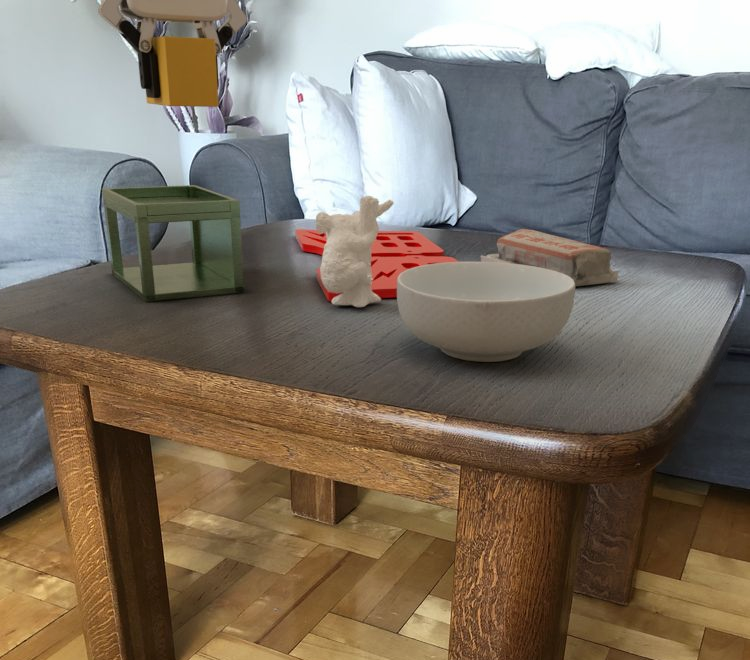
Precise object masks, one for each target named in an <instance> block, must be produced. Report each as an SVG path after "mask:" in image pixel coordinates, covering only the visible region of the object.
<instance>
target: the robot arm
mask: <svg viewBox="0 0 750 660" xmlns="http://www.w3.org/2000/svg"><path fill="white" fill-rule="evenodd" d="M97 13H98V15H99V16H100V17H101V18H102V19H103V20H104V21H105V22H106V23H108V24H109V25H110V26H111V27H112V28H114V29H115V30H116V31H117V32H118V34H119V35H120V36H121V37H122V38H123V39H124V40H125V41H126V43H128V44H129V46H130V47H132V49H133V51H134V52H135V53H137V61H138V71H139V72H138V73H139V83H140V87H141V89H142V90H145V96H146V95H147V97H148V98H159V97H160V96H161V92H160V81H159V69H158V57H157V55H156V53H154V51H153V46H152V42H153V38H154V36H155V30H156V25H157V22H167V23H168V22H169V23H172V22H173V23H188V24H193V27H194V30H195V33H196V36H197V38H210V39H215V52H216V70H217V88H218V89H219V88H220V82H219V65H218V64H219V63H218V56H219V55H220V54H221V53H222V50H223V49H224V48H225V46H226V45H227V44H228V42H229V41H230V40H231V39H232V37H233V36H234V35H236V34H237V32H239V30H240V29H241V28H243V26H245V25H246V23H247V21H248V17H247V15H246V13H245V12H244V10H242V8H241V6H240V4H239V3H238V2H237V1H236V0H102V1H101V3H100V4H99V6H98V8H97ZM121 13H122V14H121ZM123 15H124V16H125V17H127V18H130V19H132V20H136V21H135V26H134V24H133V23H132V22H131V21H129V20H127V18H125V17H124V16H123ZM225 17H226V20H225V21H224V23H222V24H221V25H220V26H218V27H217V28H216V26H215V23H214V22H217V21H219V20H222V19H223V18H225Z"/></svg>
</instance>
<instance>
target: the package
mask: <svg viewBox="0 0 750 660" xmlns="http://www.w3.org/2000/svg"><path fill="white" fill-rule="evenodd" d="M152 46H153V51H154V53H156V55H157V57H158V69H159V81H160V92H161V96H160V97H159V98H148V97H147V95H146V94H145V97H146V98H145V99H146V104H150V105H159V106H167V107H194V108H195V107H201V108H204V107H205V108H206V107H207V108H219V106H220V105H219V88H217V70H216V52H215V39H210V38H198V37H186V36H169V35H167V36H166V35H163V36H155V37H154V36H153V42H152Z"/></svg>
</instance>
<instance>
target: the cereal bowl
mask: <svg viewBox="0 0 750 660" xmlns="http://www.w3.org/2000/svg"><path fill="white" fill-rule="evenodd" d="M575 296H576V286H575V282H574V280H573V279H572V278H571V277H569V276H567V275H565V274H562V273H560V272H557V271H553V270H549V269H544V268H539V267H534V266H527V265H519V264H510V263H498V262H481V261H458V262H446V263H435V264H428V265H423V266H418V267H414V268H411V269H408V270H406V271H404V272H402V273H401V274H400V275H399V276H398V278H397V297H396V300H397V307H398V312H399V316H400V318H401V321H402V323H403V324H404V326H405V327H406V328H407V329H408V331H409V332H410V333H411V334H412V335H413V336H415V337H416V338H417V339H418V340H420V341H421V342H424V343H425V344H427V345H430V346H431V347H435V348H437V349H440V351H441V352H442V353H444V354H445V355H447V356H449V357H452V358H454V359H458V360H463V361H467V362H475V363H476V362H477V363H478V362H479V363H493V362H494V363H496V362H504V361H509V360H513V359H516V358H518V357H519V356H521V355H522V354H523V352H526V351H530V350H533V349H536V348H538V347H541V346H543V345H544V344H547V343H548V342H550V341H551V340H552V339H554V338H556V337H557V335H559V334H560V332H561V331H562V330H563V329H564V328H565V326H566V325H567V323H568V321H569V319H570V318H571V314H572V312H573V308H574V303H575V302H574V301H575Z"/></svg>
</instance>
